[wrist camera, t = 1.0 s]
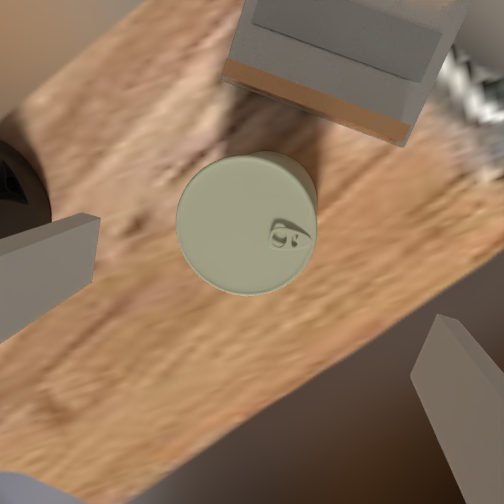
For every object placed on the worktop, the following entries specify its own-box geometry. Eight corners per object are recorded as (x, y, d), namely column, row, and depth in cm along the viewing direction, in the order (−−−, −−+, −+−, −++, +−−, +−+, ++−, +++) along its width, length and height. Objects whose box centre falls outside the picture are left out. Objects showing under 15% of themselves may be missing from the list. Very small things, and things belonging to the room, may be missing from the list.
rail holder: (224, 81, 34) (209, 70, 29) (278, -95, 30) (271, -141, 25) (401, 147, 33) (416, 147, 28) (480, -25, 29) (513, -58, 24)
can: (306, 260, 37) (302, 312, 25) (211, 242, 38) (165, 285, 26) (326, 159, 34) (332, 167, 23) (223, 143, 35) (178, 143, 24)
